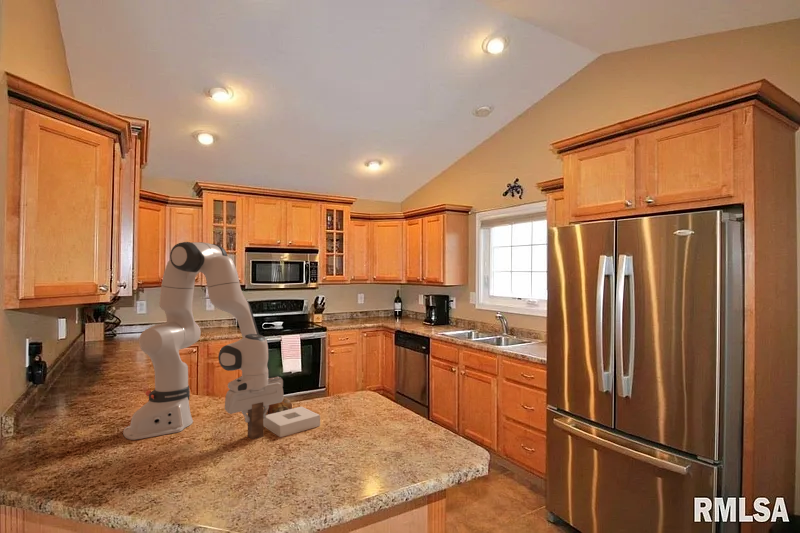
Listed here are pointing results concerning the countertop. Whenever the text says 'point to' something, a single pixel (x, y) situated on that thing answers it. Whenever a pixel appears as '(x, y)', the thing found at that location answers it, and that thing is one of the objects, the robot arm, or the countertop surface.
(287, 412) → the socket block
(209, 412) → the countertop surface
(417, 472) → the countertop surface
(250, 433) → the walnut peg
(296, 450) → the countertop surface
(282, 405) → the bread roll
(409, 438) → the countertop surface
